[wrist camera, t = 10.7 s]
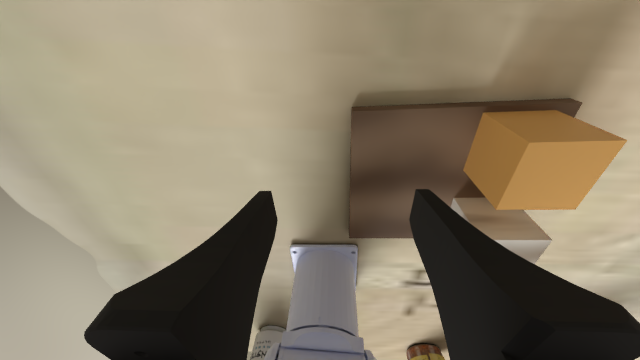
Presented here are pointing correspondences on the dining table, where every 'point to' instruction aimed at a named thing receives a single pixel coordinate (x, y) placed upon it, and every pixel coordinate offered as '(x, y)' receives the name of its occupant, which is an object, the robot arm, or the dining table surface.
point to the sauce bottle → (424, 352)
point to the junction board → (432, 170)
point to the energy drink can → (266, 341)
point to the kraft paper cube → (538, 159)
